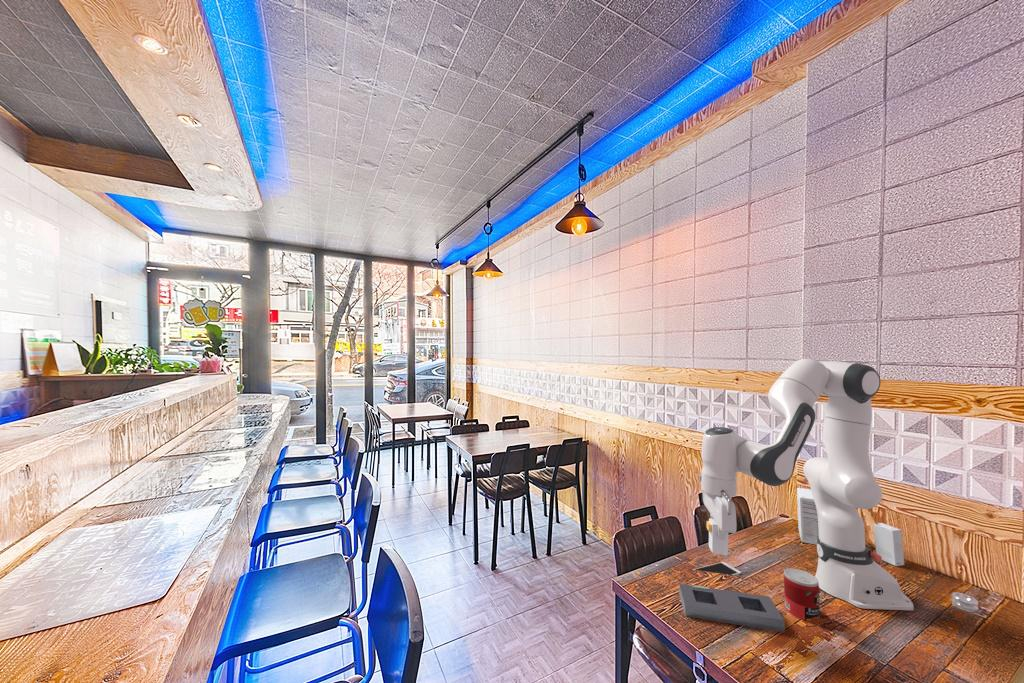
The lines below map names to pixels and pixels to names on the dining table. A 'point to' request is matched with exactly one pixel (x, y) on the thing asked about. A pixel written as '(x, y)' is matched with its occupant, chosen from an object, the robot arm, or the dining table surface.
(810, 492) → the supplement box
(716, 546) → the plug
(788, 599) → the canned food
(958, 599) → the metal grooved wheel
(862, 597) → the robot arm
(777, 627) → the panel
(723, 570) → the smartphone
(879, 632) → the dining table surface
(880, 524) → the skincare box
